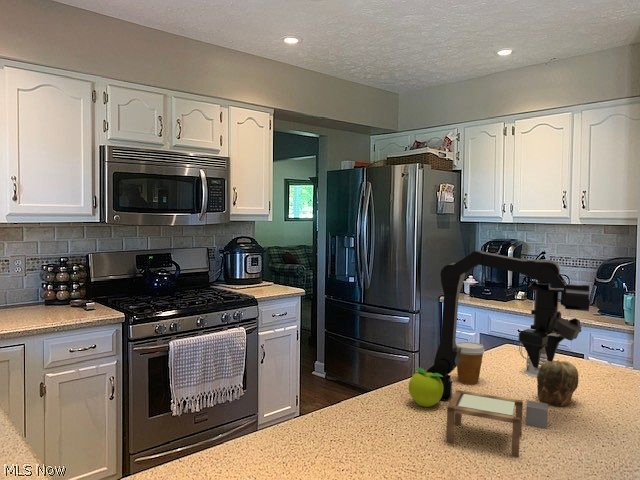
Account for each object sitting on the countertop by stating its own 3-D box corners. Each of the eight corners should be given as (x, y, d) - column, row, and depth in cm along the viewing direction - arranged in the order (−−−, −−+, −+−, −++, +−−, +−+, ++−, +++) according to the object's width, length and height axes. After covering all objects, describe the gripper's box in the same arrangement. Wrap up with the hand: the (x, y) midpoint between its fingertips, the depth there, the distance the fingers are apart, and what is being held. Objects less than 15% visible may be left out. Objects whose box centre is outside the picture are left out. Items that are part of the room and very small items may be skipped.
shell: (582, 410, 141) (584, 368, 140) (540, 406, 143) (542, 365, 142) (571, 396, 151) (573, 357, 151) (532, 393, 154) (534, 354, 153)
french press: (559, 379, 167) (563, 305, 166) (524, 378, 168) (527, 304, 166) (546, 370, 177) (550, 299, 176) (513, 369, 177) (516, 299, 176)
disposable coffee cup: (477, 376, 168) (478, 341, 168) (487, 386, 159) (489, 349, 158) (449, 376, 168) (450, 341, 167) (458, 386, 158) (459, 348, 158)
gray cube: (525, 425, 130) (526, 406, 130) (526, 418, 134) (527, 400, 134) (546, 429, 128) (547, 410, 127) (547, 422, 132) (547, 403, 132)
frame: (446, 442, 119) (447, 407, 119) (455, 422, 131) (456, 389, 130) (518, 457, 112) (520, 419, 112) (521, 434, 124) (522, 400, 124)
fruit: (420, 396, 149) (421, 363, 148) (448, 405, 142) (449, 370, 141) (401, 404, 142) (402, 369, 142) (430, 414, 136) (431, 378, 135)
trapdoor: (456, 409, 120) (456, 405, 120) (462, 397, 128) (462, 393, 128) (512, 419, 114) (512, 415, 114) (514, 405, 123) (514, 401, 123)
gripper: (563, 316, 122) (560, 379, 123) (590, 307, 135) (587, 364, 136) (518, 309, 130) (516, 368, 131) (548, 301, 143) (546, 355, 144)
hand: (543, 364), depth 135 cm, fingers open, 9 cm apart
